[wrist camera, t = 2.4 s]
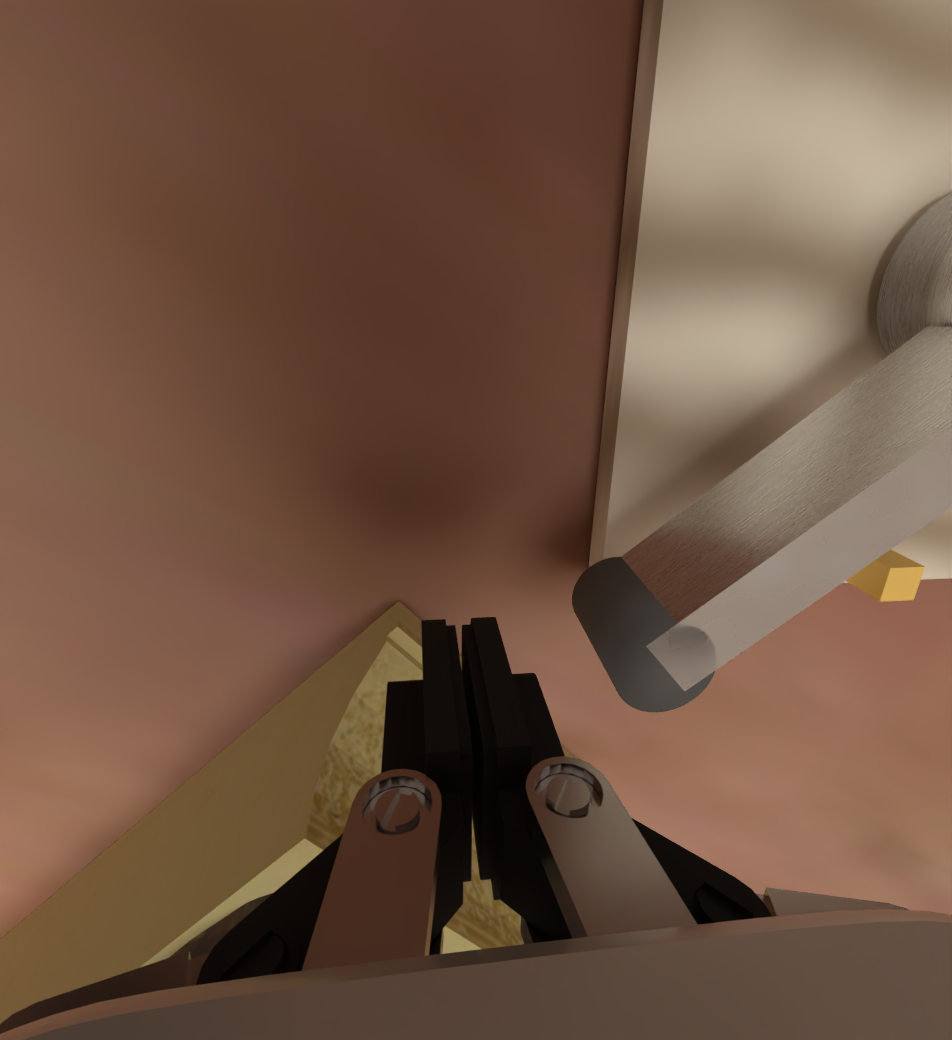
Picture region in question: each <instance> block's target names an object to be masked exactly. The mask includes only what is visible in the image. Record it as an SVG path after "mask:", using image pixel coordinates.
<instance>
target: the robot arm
mask: <svg viewBox="0 0 952 1040" xmlns="http://www.w3.org/2000/svg"><path fill="white" fill-rule="evenodd" d="M421 628H422V665H423V680H407V681H390V682H388V683H387V693H386V708H385V722H384V737H383V751H382V766H381V773H380V774H378V775H376V776H375V777H373V778H372V779H370V780H368V781H367V782H366V783H365V784H364V785H363V786H362V787H361V788H360V789H359V790H358V792H357V794H356V796H355V798H354V800H353V803H352V806H351V810H350V813H349V816H348V819H347V823H346V826H345V829H344V833H343V834H342V835H340V836H339V837H338V838H337V839H336V840H335V841H334V842H332V843H331V844H330V845H329V846H328V847H327V848H325V849H324V850H323V851H322V852H321V853H320V854H318V855H317V856H316V857H315V858H314V859H313V860H311V861H310V862H309V863H308V864H307V865H306V866H304V867H303V868H302V869H301V870H300V871H299V872H297V873H296V874H295V875H294V876H293V877H292V878H290V879H289V880H288V881H287V882H286V883H285V884H283V885H282V886H281V887H280V888H279V889H278V890H276V891H275V892H274V893H273V894H272V895H271V896H269V897H268V898H267V899H266V900H265V901H264V902H262V903H261V904H260V905H259V906H258V907H257V908H255V909H254V910H253V911H252V912H251V913H250V914H248V915H247V916H246V917H245V918H244V919H243V920H241V921H240V922H239V923H238V924H237V925H236V926H234V927H233V928H232V929H231V930H230V931H229V932H228V933H227V934H226V935H225V936H224V937H223V938H222V939H221V940H220V941H219V942H218V943H217V944H216V945H215V946H214V947H213V949H212V950H211V952H210V953H207V954H204V955H202V956H199V957H196V958H193V959H191V956H190V952H189V951H188V952H185V953H182V954H179V955H176V956H173V957H170V958H167V959H164V960H161V961H158V962H155V963H152V964H149V965H146V966H143V967H140V968H137V969H134V970H131V971H128V972H125V973H122V974H119V975H116V976H113V977H111V978H108V979H105V980H102V981H99V982H96V983H93V984H90V985H87V986H84V987H81V988H78V989H75V990H72V991H69V992H66V993H63V994H60V995H57V996H54V997H51V998H48V999H45V1000H42V1001H39V1002H36V1003H34V1004H32V1005H30V1006H28V1007H26V1008H24V1009H22V1010H20V1011H18V1012H16V1013H14V1014H12V1015H11V1016H10V1017H8V1018H7V1019H6V1020H5V1021H3V1022H2V1023H1V1024H0V1040H952V915H949V914H943V913H936V912H929V911H912V910H908V909H906V908H903V907H899V906H896V905H892V904H889V903H882V902H875V901H867V900H859V899H851V898H844V897H836V896H828V895H821V894H813V893H805V892H797V891H790V890H782V889H774V888H767V887H766V890H765V893H764V895H760V894H755V893H754V892H753V890H752V889H751V888H749V887H748V886H746V885H745V884H744V883H742V882H741V881H739V880H738V879H737V878H735V877H733V876H732V875H730V874H728V873H726V872H725V871H723V870H721V869H719V868H718V867H716V866H714V865H712V864H711V863H709V862H707V861H706V860H704V859H702V858H700V857H699V856H697V855H695V854H693V853H692V852H690V851H688V850H686V849H685V848H683V847H681V846H679V845H678V844H676V843H674V842H672V841H671V840H669V839H667V838H665V837H664V836H662V835H660V834H658V833H657V832H655V831H653V830H651V829H650V828H648V827H646V826H645V825H643V824H641V823H639V822H638V821H636V820H634V819H632V818H631V817H630V815H629V814H628V812H627V810H626V809H625V807H624V806H623V804H622V802H621V801H620V799H619V798H618V796H617V794H616V793H615V791H614V790H613V788H612V786H611V785H610V783H609V782H608V780H607V779H606V778H605V777H604V775H603V774H602V773H601V772H600V771H599V770H598V769H596V768H595V767H594V766H592V765H591V764H589V763H587V762H584V761H582V760H580V759H577V758H571V757H565V755H564V752H563V749H562V747H561V744H560V741H559V738H558V735H557V733H556V730H555V727H554V724H553V721H552V718H551V716H550V713H549V710H548V707H547V704H546V702H545V699H544V696H543V693H542V690H541V688H540V685H539V682H538V679H537V677H536V675H535V674H534V673H524V674H512V673H511V669H510V666H509V662H508V659H507V655H506V652H505V648H504V645H503V641H502V638H501V634H500V631H499V628H498V624H497V621H496V618H495V617H484V618H471V625H462V671H461V664H460V657H459V650H458V643H457V636H456V629H455V625H451V626H446V621H445V619H443V620H422V621H421ZM472 820H473V828H474V836H475V844H476V852H477V860H478V868H479V876H480V880H489V879H491V885H492V892H493V899H494V900H501V901H502V902H504V903H505V904H506V905H507V906H509V907H510V908H511V909H512V910H514V911H515V912H516V913H518V921H519V927H520V932H521V936H522V939H523V942H524V944H522V945H513V946H505V947H496V948H488V949H479V950H471V951H462V952H453V953H445V954H442V953H443V942H444V933H443V928H444V927H445V925H446V924H447V923H448V922H449V921H450V919H451V918H452V917H453V916H454V914H455V913H456V912H457V911H458V909H459V908H460V907H461V906H462V905H463V882H469V881H471V872H472Z"/></svg>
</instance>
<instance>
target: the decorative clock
mask: <svg viewBox="0 0 952 1040" xmlns="http://www.w3.org/2000/svg"><path fill="white" fill-rule="evenodd" d="M459 657H460V664H461V671H462V656H460V655H459ZM407 680H423V665H422V628H421V620H420V619H419V618H418V617H417V616H416V615H414V614H413V613H412V612H411V611H410V610H409V609H408V608H407V607H405V606H404V605H403V604H402V603H401V602H400V601H398V602H397V603H396V604H394V605H393V606H392V607H391V608H390V609H389V610H387V611H386V612H385V613H384V614H383V615H382V616H380V617H379V618H378V619H377V620H376V621H374V622H373V623H372V624H371V625H370V626H369V627H367V628H366V629H365V630H364V631H363V632H362V633H360V634H359V635H358V636H357V637H356V638H354V639H353V640H352V641H351V642H350V643H349V644H347V645H346V646H345V647H344V648H343V649H342V650H340V651H339V652H338V653H337V654H336V655H334V656H333V657H332V658H331V659H330V660H329V661H327V662H326V663H325V664H324V665H323V666H321V667H320V668H319V669H318V670H317V671H316V672H314V673H313V674H312V675H311V676H310V677H309V678H307V679H306V680H305V681H304V682H303V683H301V684H300V685H299V686H298V687H297V688H296V689H294V690H293V691H292V692H291V693H290V694H289V695H287V696H286V697H285V698H284V699H283V700H281V701H280V702H279V703H278V704H277V705H276V706H274V707H273V708H272V709H271V710H270V711H269V712H267V713H266V714H265V715H264V716H263V717H261V718H260V719H259V720H258V721H257V722H256V723H254V724H253V725H252V726H251V727H250V728H249V729H247V730H246V731H245V732H244V733H243V734H241V735H240V736H239V737H238V738H237V739H236V740H234V741H233V742H232V743H231V744H230V745H229V746H227V747H226V748H225V749H224V750H223V751H221V752H220V753H219V754H218V755H217V756H216V757H214V758H213V759H212V760H211V761H210V762H209V763H207V764H206V765H205V766H204V767H203V768H201V769H200V770H199V771H198V772H197V773H196V774H194V775H193V776H192V777H191V778H190V779H189V780H187V781H186V782H185V783H184V784H183V785H181V786H180V787H179V788H178V789H177V790H176V791H174V792H173V793H172V794H171V795H170V796H168V797H167V798H166V799H165V800H164V801H163V802H161V803H160V804H159V805H158V806H157V807H156V808H154V809H153V810H152V811H151V812H150V813H148V814H147V815H146V816H145V817H144V818H143V819H141V820H140V821H139V822H138V823H137V824H136V825H134V826H133V827H132V828H131V829H130V830H128V831H127V832H126V833H125V834H124V835H123V836H121V837H120V838H119V839H118V840H117V841H116V842H114V843H113V844H112V845H111V846H110V847H108V848H107V849H106V850H105V851H104V852H103V853H101V854H100V855H99V856H98V857H97V858H96V859H94V860H93V861H92V862H91V863H90V864H88V865H87V866H86V867H85V868H84V869H83V870H81V871H80V872H79V873H78V874H77V875H76V876H74V877H73V878H72V879H71V880H70V881H68V882H67V883H66V884H65V885H64V886H63V887H61V888H60V889H59V890H58V891H57V892H56V893H54V894H53V895H52V896H51V897H50V898H48V899H47V900H46V901H45V902H44V903H43V904H41V905H40V906H39V907H38V908H37V909H35V910H34V911H33V912H32V913H31V914H30V915H28V916H27V917H26V918H25V919H24V920H23V921H21V922H20V923H19V924H18V925H17V926H15V927H14V928H13V929H12V930H11V931H10V932H8V933H7V934H6V935H5V936H4V937H3V938H1V939H0V1024H1V1023H2V1022H3V1021H5V1020H6V1019H7V1018H8V1017H10V1016H11V1015H12V1014H14V1013H16V1012H18V1011H20V1010H22V1009H24V1008H26V1007H28V1006H30V1005H32V1004H34V1003H36V1002H39V1001H42V1000H45V999H48V998H51V997H54V996H57V995H60V994H63V993H66V992H69V991H72V990H75V989H78V988H81V987H84V986H87V985H90V984H93V983H96V982H99V981H102V980H105V979H108V978H111V977H113V976H116V975H119V974H122V973H125V972H128V971H131V970H134V969H137V968H140V967H143V966H146V965H149V964H152V963H155V962H158V961H161V960H164V959H167V958H170V957H173V956H176V955H179V954H182V953H185V952H188V951H189V952H190V956H191V959H193V958H196V957H199V956H202V955H204V954H207V953H210V952H211V950H212V949H213V947H214V946H215V945H216V944H217V943H218V942H219V941H220V940H221V939H222V938H223V937H224V936H225V935H226V934H227V933H228V932H229V931H230V930H231V929H232V928H233V927H234V926H236V925H237V924H238V923H239V922H240V921H241V920H243V919H244V918H245V917H246V916H247V915H248V914H250V913H251V912H252V911H253V910H254V909H255V908H257V907H258V906H259V905H260V904H261V903H262V902H264V901H265V900H266V899H267V898H268V897H269V896H271V895H272V894H273V893H274V892H275V891H276V890H278V889H279V888H280V887H281V886H282V885H283V884H285V883H286V882H287V881H288V880H289V879H290V878H292V877H293V876H294V875H295V874H296V873H297V872H299V871H300V870H301V869H302V868H303V867H304V866H306V865H307V864H308V863H309V862H310V861H311V860H313V859H314V858H315V857H316V856H317V855H318V854H320V853H321V852H322V851H323V850H324V849H325V848H327V847H328V846H329V845H330V844H331V843H332V842H334V841H335V840H336V839H337V838H338V837H339V836H340V835H342V834H343V833H344V829H345V826H346V823H347V819H348V816H349V813H350V810H351V806H352V803H353V800H354V798H355V796H356V794H357V792H358V790H359V789H360V788H361V787H362V786H363V785H364V784H365V783H366V782H367V781H368V780H370V779H372V778H373V777H375V776H376V775H378V774H380V773H381V766H382V751H383V737H384V722H385V708H386V693H387V683H388V682H390V681H407ZM561 747H562V749H563V752H564V755H565V757H571V758H575V757H574V756H573V755H572V754H570V753H569V752H568V751H567V750H566V749H565V748H564V747H563V746H561ZM443 933H444V942H443V953H442V954H445V953H453V952H462V951H471V950H479V949H488V948H496V947H505V946H513V945H522V944H524V942H523V939H522V936H521V932H520V927H519V921H518V913H516V912H515V911H514V910H512V909H511V908H510V907H509V906H507V905H506V904H505V903H504V902H502V901H501V900H494V899H493V892H492V885H491V879H489V880H480V876H479V868H478V860H477V852H476V844H475V836H474V828H473V820H472V872H471V881H469V882H463V905H462V906H461V907H460V908H459V909H458V911H457V912H456V913H455V914H454V916H453V917H452V918H451V919H450V921H449V922H448V923H447V924H446V925H445V927H444V928H443Z"/></svg>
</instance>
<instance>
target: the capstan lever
mask: <svg viewBox="0 0 952 1040" xmlns="http://www.w3.org/2000/svg"><path fill="white" fill-rule="evenodd" d="M877 326H878V333H879V337H880V341H881V344H882V347H883V349H884V351H885V353H886V355H887V357H885V358H884V359H883V360H881V361H880V362H879V363H877V364H876V365H875V366H874V367H872V368H871V369H870V370H868V371H867V372H866V373H864V374H863V375H862V376H860V377H859V378H858V379H856V380H855V381H854V382H852V383H851V384H850V385H848V386H847V387H846V388H844V389H843V390H842V391H840V392H839V393H838V394H836V395H835V396H834V397H832V398H831V399H830V400H828V401H827V402H826V403H824V404H823V405H822V406H820V407H819V408H818V409H816V410H815V411H814V412H812V413H811V414H810V415H808V416H807V417H806V418H804V419H803V420H802V421H800V422H799V423H798V424H797V425H795V426H794V427H793V428H791V429H790V430H789V431H787V432H786V433H785V434H783V435H782V436H781V437H779V438H778V439H777V440H775V441H774V442H773V443H771V444H770V445H769V446H767V447H766V448H765V449H763V450H762V451H761V452H759V453H758V454H757V455H755V456H754V457H753V458H751V459H750V460H749V461H747V462H746V463H745V464H743V465H742V466H741V467H739V468H738V469H737V470H735V471H734V472H733V473H731V474H730V475H729V476H727V477H726V478H725V479H723V480H722V481H721V482H719V483H718V484H717V485H716V486H714V487H713V488H712V489H710V490H709V491H708V492H706V493H705V494H704V495H702V496H701V497H700V498H698V499H697V500H696V501H694V502H693V503H692V504H690V505H689V506H688V507H686V508H685V509H684V510H682V511H681V512H680V513H678V514H677V515H676V516H674V517H673V518H672V519H670V520H669V521H668V522H666V523H665V524H664V525H662V526H661V527H660V528H658V529H657V530H656V531H654V532H653V533H652V534H650V535H649V536H648V537H646V538H645V539H644V540H642V541H641V542H640V543H639V544H637V545H636V546H635V547H633V548H632V549H631V550H629V551H628V552H627V553H625V554H624V555H623V556H621V557H611V558H607V559H604V560H601V561H599V562H597V563H595V564H593V565H592V566H590V567H589V568H588V569H587V570H586V571H585V572H584V573H583V574H582V575H581V576H580V578H579V579H578V581H577V583H576V585H575V587H574V590H573V595H572V604H573V609H574V612H575V614H576V616H577V617H578V619H579V621H580V623H581V625H582V627H583V629H584V630H585V632H586V634H587V636H588V638H589V640H590V642H591V643H592V645H593V647H594V649H595V651H596V653H597V655H598V657H599V658H600V660H601V662H602V664H603V666H604V668H605V670H606V671H607V673H608V675H609V677H610V679H611V681H612V683H613V684H614V686H615V688H616V690H617V692H618V694H619V696H620V697H621V698H622V699H623V700H624V701H625V702H626V703H627V704H628V705H630V706H631V707H633V708H636V709H638V710H641V711H646V712H663V711H669V710H672V709H676V708H678V707H681V706H683V705H685V704H687V703H688V702H690V701H692V700H693V699H694V698H696V697H697V696H698V695H699V694H700V693H701V692H702V691H703V690H704V689H705V688H706V687H707V685H708V684H709V682H710V681H711V679H712V677H713V675H714V672H715V670H717V669H718V668H720V667H721V666H723V665H724V664H725V663H727V662H728V661H730V660H731V659H733V658H734V657H736V656H737V655H738V654H740V653H741V652H743V651H744V650H746V649H747V648H749V647H750V646H752V645H753V644H754V643H756V642H757V641H759V640H760V639H762V638H763V637H765V636H766V635H767V634H769V633H770V632H772V631H773V630H775V629H776V628H778V627H779V626H781V625H782V624H783V623H785V622H786V621H788V620H789V619H791V618H792V617H794V616H795V615H796V614H798V613H799V612H801V611H802V610H804V609H805V608H807V607H808V606H809V605H811V604H812V603H814V602H815V601H817V600H818V599H820V598H821V597H823V596H824V595H825V594H827V593H828V592H830V591H831V590H833V589H834V588H836V587H837V586H838V585H840V584H841V583H843V582H844V581H846V580H847V579H849V578H850V577H851V576H853V575H854V574H856V573H857V572H859V571H860V570H862V569H863V568H865V567H866V566H867V565H869V564H870V563H872V562H873V561H875V560H876V559H878V558H879V557H880V556H882V555H883V554H885V553H886V552H888V551H889V550H891V549H892V548H893V547H895V546H896V545H898V544H899V543H901V542H902V541H904V540H905V539H907V538H908V537H909V536H911V535H912V534H914V533H915V532H917V531H918V530H920V529H921V528H922V527H924V526H925V525H927V524H928V523H930V522H931V521H933V520H934V519H935V518H937V517H938V516H940V515H941V514H943V513H944V512H946V511H947V510H949V509H950V508H951V507H952V193H951V194H949V195H947V196H946V197H944V198H943V199H942V200H940V201H939V202H937V203H936V204H934V205H933V206H932V207H931V208H930V209H929V210H928V211H927V212H925V213H924V214H923V215H922V216H921V217H920V218H919V219H918V221H917V222H916V223H915V224H914V225H913V226H912V227H911V229H910V230H909V231H908V232H907V234H906V235H905V236H904V238H903V239H902V241H901V242H900V244H899V246H898V247H897V249H896V250H895V252H894V254H893V256H892V258H891V260H890V262H889V264H888V267H887V269H886V272H885V275H884V277H883V281H882V284H881V288H880V292H879V298H878V304H877Z"/></svg>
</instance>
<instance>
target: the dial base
mask: <svg viewBox="0 0 952 1040" xmlns="http://www.w3.org/2000/svg"><path fill="white" fill-rule="evenodd" d="M951 193H952V0H644V6H643V16H642V26H641V36H640V47H639V57H638V67H637V77H636V88H635V98H634V108H633V118H632V128H631V139H630V149H629V159H628V169H627V179H626V190H625V200H624V210H623V220H622V231H621V241H620V251H619V261H618V271H617V282H616V292H615V302H614V312H613V322H612V333H611V343H610V353H609V363H608V374H607V384H606V394H605V404H604V414H603V425H602V435H601V445H600V455H599V465H598V476H597V486H596V496H595V506H594V517H593V527H592V537H591V547H590V557H589V567H590V566H592V565H593V564H595V563H597V562H599V561H601V560H604V559H607V558H611V557H621V556H623V555H624V554H625V553H627V552H628V551H629V550H631V549H632V548H633V547H635V546H636V545H637V544H639V543H640V542H641V541H642V540H644V539H645V538H646V537H648V536H649V535H650V534H652V533H653V532H654V531H656V530H657V529H658V528H660V527H661V526H662V525H664V524H665V523H666V522H668V521H669V520H670V519H672V518H673V517H674V516H676V515H677V514H678V513H680V512H681V511H682V510H684V509H685V508H686V507H688V506H689V505H690V504H692V503H693V502H694V501H696V500H697V499H698V498H700V497H701V496H702V495H704V494H705V493H706V492H708V491H709V490H710V489H712V488H713V487H714V486H716V485H717V484H718V483H719V482H721V481H722V480H723V479H725V478H726V477H727V476H729V475H730V474H731V473H733V472H734V471H735V470H737V469H738V468H739V467H741V466H742V465H743V464H745V463H746V462H747V461H749V460H750V459H751V458H753V457H754V456H755V455H757V454H758V453H759V452H761V451H762V450H763V449H765V448H766V447H767V446H769V445H770V444H771V443H773V442H774V441H775V440H777V439H778V438H779V437H781V436H782V435H783V434H785V433H786V432H787V431H789V430H790V429H791V428H793V427H794V426H795V425H797V424H798V423H799V422H800V421H802V420H803V419H804V418H806V417H807V416H808V415H810V414H811V413H812V412H814V411H815V410H816V409H818V408H819V407H820V406H822V405H823V404H824V403H826V402H827V401H828V400H830V399H831V398H832V397H834V396H835V395H836V394H838V393H839V392H840V391H842V390H843V389H844V388H846V387H847V386H848V385H850V384H851V383H852V382H854V381H855V380H856V379H858V378H859V377H860V376H862V375H863V374H864V373H866V372H867V371H868V370H870V369H871V368H872V367H874V366H875V365H876V364H877V363H879V362H880V361H881V360H883V359H884V358H885V357H887V355H886V353H885V351H884V349H883V347H882V344H881V341H880V337H879V333H878V326H877V304H878V298H879V292H880V288H881V284H882V281H883V277H884V275H885V272H886V269H887V267H888V264H889V262H890V260H891V258H892V256H893V254H894V252H895V250H896V249H897V247H898V246H899V244H900V242H901V241H902V239H903V238H904V236H905V235H906V234H907V232H908V231H909V230H910V229H911V227H912V226H913V225H914V224H915V223H916V222H917V221H918V219H919V218H920V217H921V216H922V215H923V214H924V213H925V212H927V211H928V210H929V209H930V208H931V207H932V206H933V205H934V204H936V203H937V202H939V201H940V200H942V199H943V198H944V197H946V196H947V195H949V194H951ZM942 578H952V507H951V508H950V509H949V510H947V511H946V512H944V513H943V514H941V515H940V516H938V517H937V518H935V519H934V520H933V521H931V522H930V523H928V524H927V525H925V526H924V527H922V528H921V529H920V530H918V531H917V532H915V533H914V534H912V535H911V536H909V537H908V538H907V539H905V540H904V541H902V542H901V543H899V544H898V545H896V546H895V547H893V548H892V549H891V550H889V551H888V552H886V553H885V554H883V555H882V556H880V557H879V558H878V559H876V560H875V561H873V562H872V563H870V564H869V565H867V566H866V567H865V568H863V569H862V570H860V571H859V572H857V573H856V574H854V575H853V576H851V577H850V578H849V579H847V580H846V581H844V582H843V583H851V584H852V585H854V586H855V587H857V588H859V589H860V590H862V591H863V592H865V593H867V594H868V595H870V596H872V597H873V598H875V599H876V600H878V601H880V602H882V601H903V600H914V597H915V594H916V591H917V589H918V586H919V583H920V580H921V579H942Z"/></svg>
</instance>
